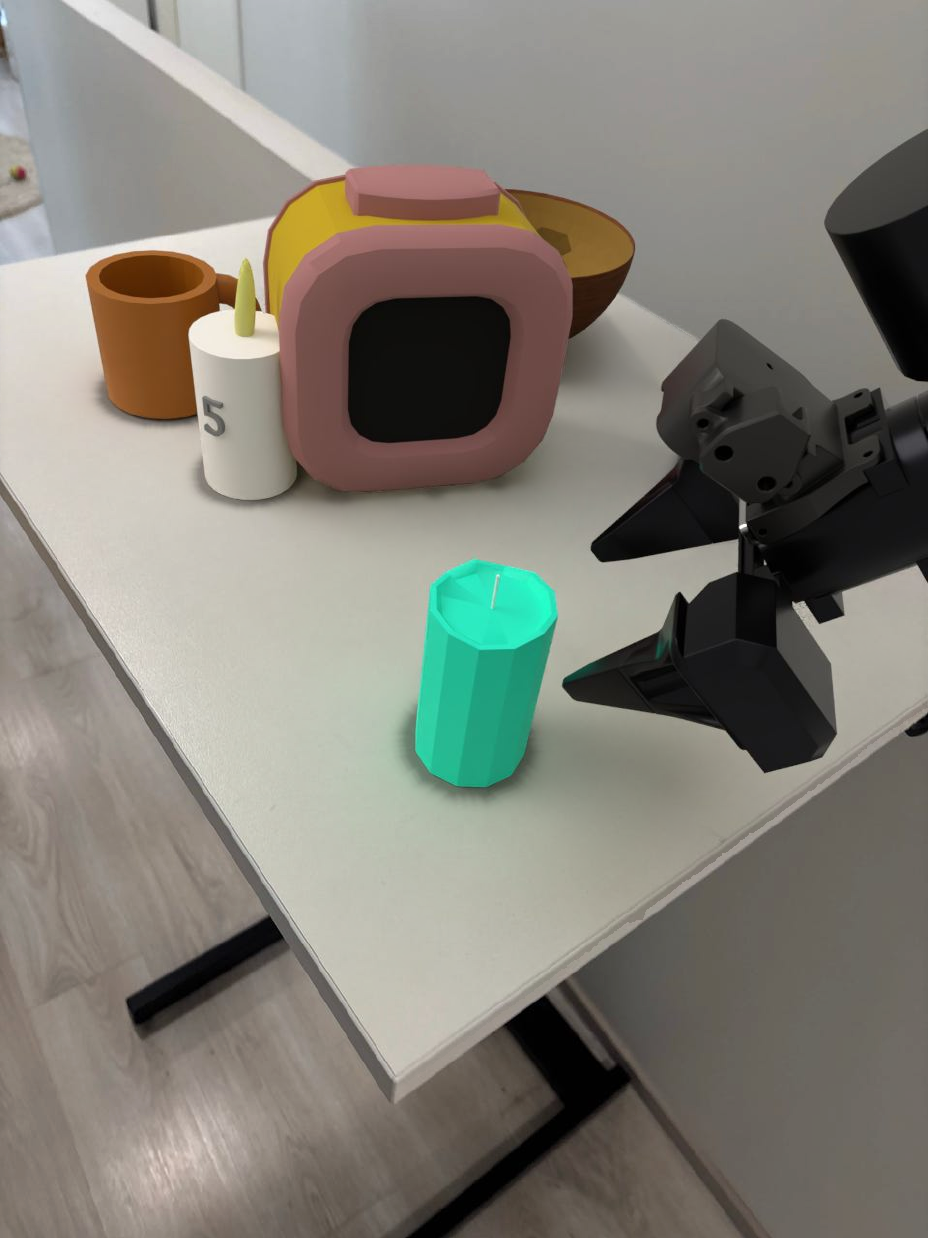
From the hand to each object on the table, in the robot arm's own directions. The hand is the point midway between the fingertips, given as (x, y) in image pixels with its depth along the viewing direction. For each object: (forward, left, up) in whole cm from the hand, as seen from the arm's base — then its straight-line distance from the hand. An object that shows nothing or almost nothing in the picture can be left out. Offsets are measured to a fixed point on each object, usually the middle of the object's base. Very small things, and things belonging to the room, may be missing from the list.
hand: (582, 616), depth 41 cm
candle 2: (+4, 0, -11) cm, 12 cm away
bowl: (+13, -44, -11) cm, 47 cm away
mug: (+34, -25, -11) cm, 44 cm away
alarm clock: (+16, -24, -11) cm, 31 cm away
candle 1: (+25, -17, -11) cm, 32 cm away
